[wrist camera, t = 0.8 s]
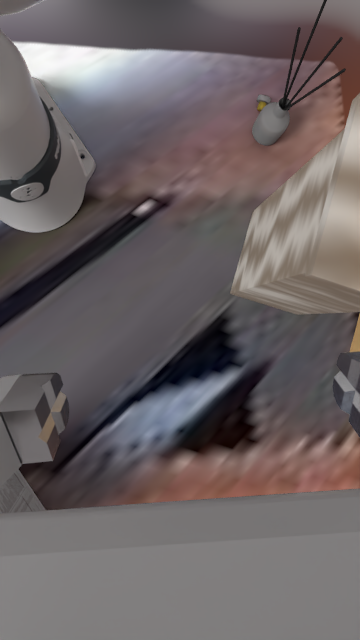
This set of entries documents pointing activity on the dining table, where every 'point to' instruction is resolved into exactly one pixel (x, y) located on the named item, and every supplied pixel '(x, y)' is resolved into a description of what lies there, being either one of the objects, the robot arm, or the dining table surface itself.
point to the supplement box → (18, 496)
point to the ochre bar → (356, 338)
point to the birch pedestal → (309, 234)
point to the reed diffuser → (283, 100)
